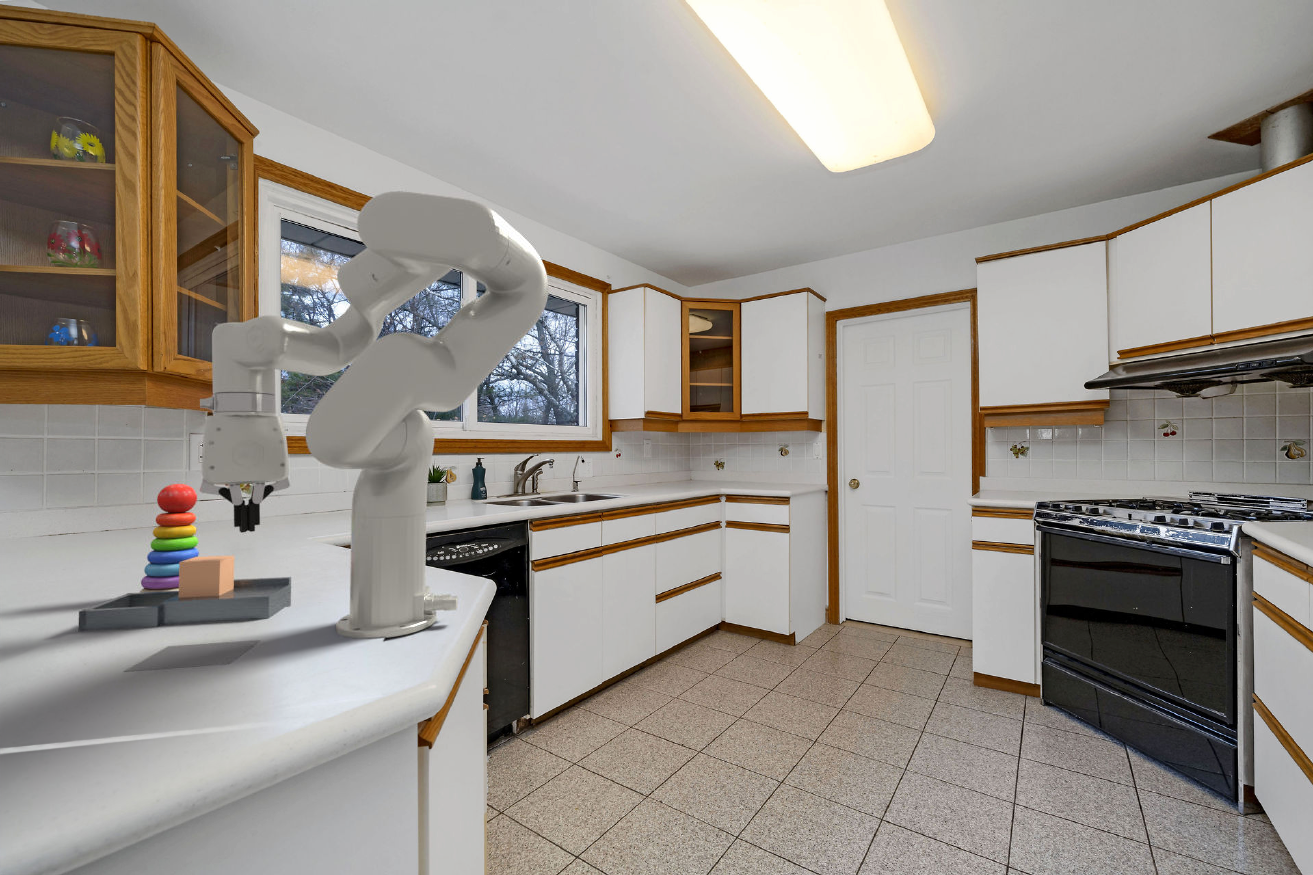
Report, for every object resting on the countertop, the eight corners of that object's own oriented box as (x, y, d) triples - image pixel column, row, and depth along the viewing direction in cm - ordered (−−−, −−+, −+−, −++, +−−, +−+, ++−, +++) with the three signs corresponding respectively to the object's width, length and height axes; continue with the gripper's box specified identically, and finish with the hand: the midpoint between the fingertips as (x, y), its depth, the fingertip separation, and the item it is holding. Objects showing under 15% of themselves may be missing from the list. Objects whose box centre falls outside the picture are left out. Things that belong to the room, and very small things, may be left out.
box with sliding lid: (292, 604, 88) (293, 575, 88) (266, 622, 79) (266, 590, 79) (127, 613, 83) (128, 583, 83) (78, 634, 73) (79, 600, 74)
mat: (261, 642, 71) (261, 639, 71) (229, 666, 63) (229, 663, 63) (168, 649, 68) (168, 646, 68) (123, 675, 60) (123, 671, 60)
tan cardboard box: (233, 588, 84) (234, 555, 84) (219, 595, 80) (219, 560, 80) (195, 590, 83) (195, 556, 83) (178, 597, 79) (179, 562, 79)
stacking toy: (165, 605, 87) (168, 485, 88) (125, 602, 89) (128, 484, 89) (214, 592, 95) (217, 482, 95) (176, 589, 97) (179, 482, 97)
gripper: (179, 403, 75) (181, 540, 74) (308, 406, 85) (310, 527, 84) (178, 408, 81) (180, 535, 80) (299, 411, 91) (301, 523, 90)
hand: (247, 530), depth 82 cm, fingers closed
